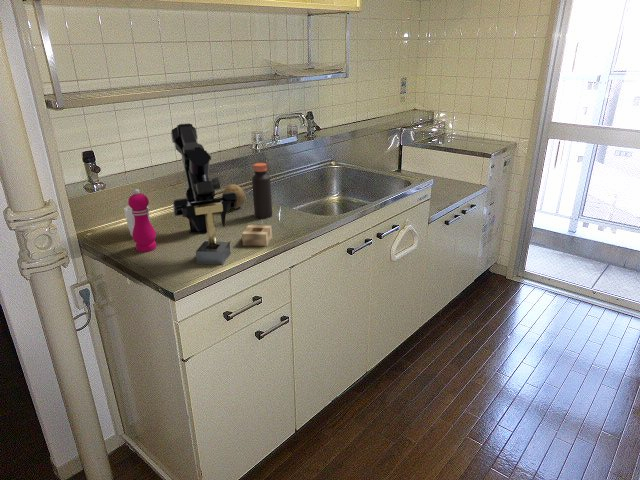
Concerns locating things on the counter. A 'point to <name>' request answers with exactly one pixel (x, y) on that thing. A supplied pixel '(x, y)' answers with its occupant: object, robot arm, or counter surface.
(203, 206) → the T-key
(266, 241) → the tan square ring block
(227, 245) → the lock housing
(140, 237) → the pepper mill
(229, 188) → the natural sponge
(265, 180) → the bottle
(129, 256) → the counter surface
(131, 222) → the white cup
